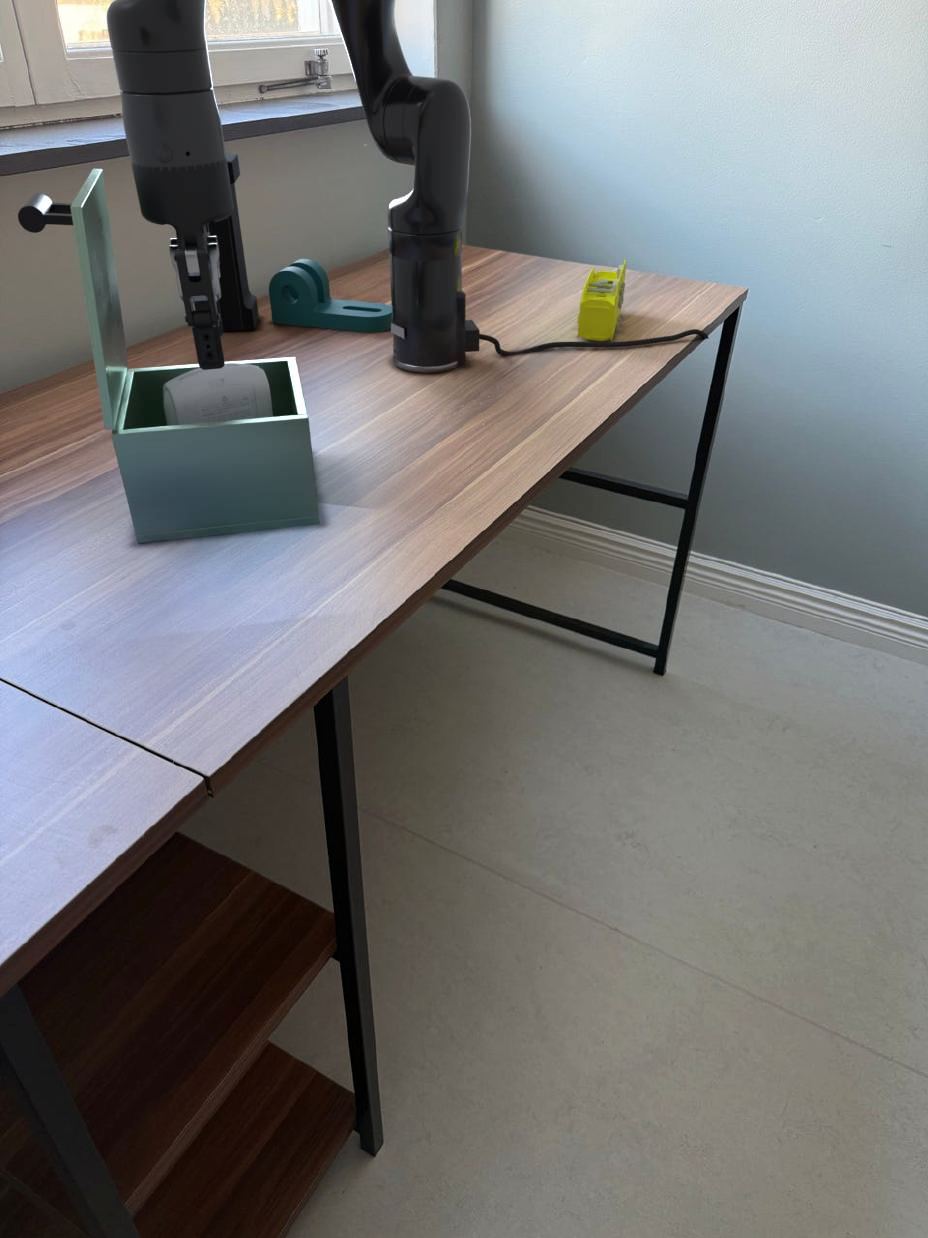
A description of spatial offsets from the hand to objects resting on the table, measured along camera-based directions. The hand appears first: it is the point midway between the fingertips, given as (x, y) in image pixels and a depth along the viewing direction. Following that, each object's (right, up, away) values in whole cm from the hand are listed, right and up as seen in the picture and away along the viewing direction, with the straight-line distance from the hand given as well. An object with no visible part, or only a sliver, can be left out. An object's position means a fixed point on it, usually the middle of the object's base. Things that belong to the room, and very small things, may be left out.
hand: (212, 351), depth 81 cm
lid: (-8, +3, -5) cm, 9 cm away
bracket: (+4, +20, +53) cm, 57 cm away
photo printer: (0, -11, +8) cm, 14 cm away
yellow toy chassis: (+44, +19, +52) cm, 70 cm away
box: (-1, -12, +9) cm, 15 cm away
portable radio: (-11, +20, +52) cm, 57 cm away
